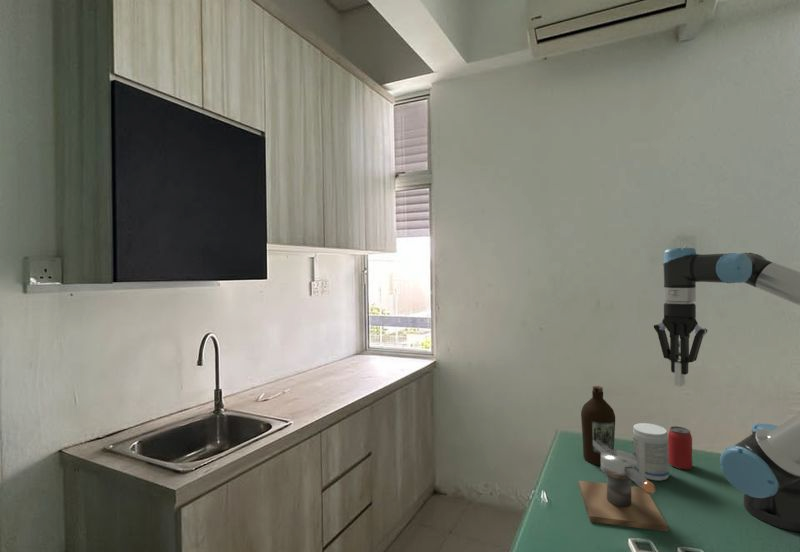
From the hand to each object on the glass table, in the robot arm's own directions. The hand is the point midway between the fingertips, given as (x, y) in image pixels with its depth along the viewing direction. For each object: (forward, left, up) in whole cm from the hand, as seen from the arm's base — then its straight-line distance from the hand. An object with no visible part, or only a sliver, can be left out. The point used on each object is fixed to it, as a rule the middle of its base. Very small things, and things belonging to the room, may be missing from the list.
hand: (679, 384), depth 118 cm
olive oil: (+18, -19, -33) cm, 42 cm away
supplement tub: (+4, -12, -33) cm, 35 cm away
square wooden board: (+18, +9, -32) cm, 38 cm away
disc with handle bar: (+18, +10, -22) cm, 30 cm away
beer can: (-7, -20, -33) cm, 39 cm away
